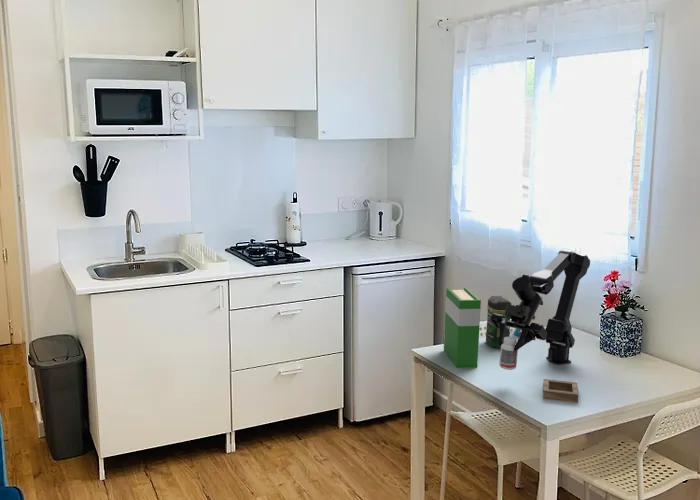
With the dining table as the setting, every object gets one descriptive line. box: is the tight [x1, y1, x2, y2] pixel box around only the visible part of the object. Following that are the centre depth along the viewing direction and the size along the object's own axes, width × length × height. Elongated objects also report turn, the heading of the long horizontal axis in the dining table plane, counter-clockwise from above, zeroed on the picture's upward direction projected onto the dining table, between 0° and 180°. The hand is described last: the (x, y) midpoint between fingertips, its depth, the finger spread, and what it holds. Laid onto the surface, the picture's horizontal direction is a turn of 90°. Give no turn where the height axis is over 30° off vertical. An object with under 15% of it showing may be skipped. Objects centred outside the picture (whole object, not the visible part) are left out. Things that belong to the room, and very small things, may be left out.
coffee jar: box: [485, 295, 512, 349], centre depth 272 cm, size 10×8×19 cm
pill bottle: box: [499, 336, 519, 371], centre depth 233 cm, size 5×5×10 cm
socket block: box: [542, 378, 579, 404], centre depth 227 cm, size 10×10×3 cm
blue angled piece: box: [513, 328, 521, 336], centre depth 287 cm, size 11×6×10 cm
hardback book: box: [443, 287, 482, 369], centre depth 256 cm, size 18×7×24 cm, turn 7°
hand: (506, 348), depth 231 cm, fingers closed on pill bottle, 5 cm apart
